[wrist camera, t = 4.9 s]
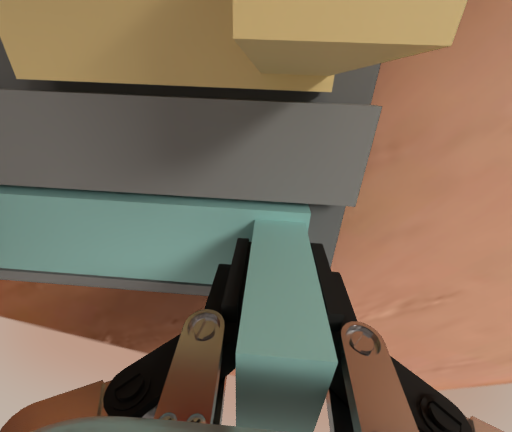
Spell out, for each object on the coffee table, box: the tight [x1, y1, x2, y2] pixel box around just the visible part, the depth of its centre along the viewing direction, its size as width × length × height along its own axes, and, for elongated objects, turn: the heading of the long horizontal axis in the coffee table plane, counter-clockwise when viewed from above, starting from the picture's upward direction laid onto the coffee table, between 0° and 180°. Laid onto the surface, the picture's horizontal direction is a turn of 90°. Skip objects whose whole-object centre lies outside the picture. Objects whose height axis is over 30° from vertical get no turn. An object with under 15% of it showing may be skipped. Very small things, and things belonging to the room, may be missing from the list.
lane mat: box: [0, 38, 382, 296], centre depth 11 cm, size 30×17×2 cm, turn 87°
